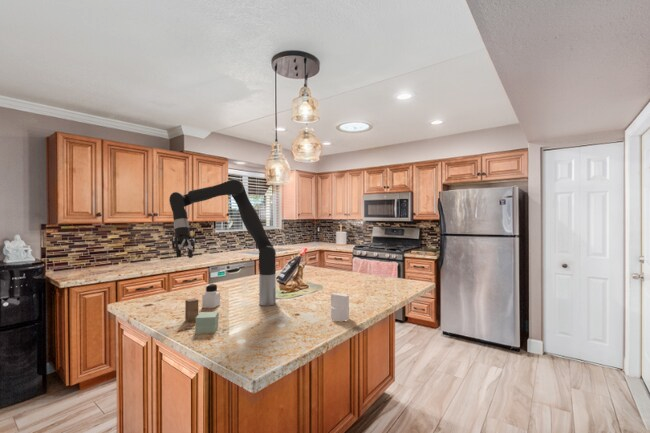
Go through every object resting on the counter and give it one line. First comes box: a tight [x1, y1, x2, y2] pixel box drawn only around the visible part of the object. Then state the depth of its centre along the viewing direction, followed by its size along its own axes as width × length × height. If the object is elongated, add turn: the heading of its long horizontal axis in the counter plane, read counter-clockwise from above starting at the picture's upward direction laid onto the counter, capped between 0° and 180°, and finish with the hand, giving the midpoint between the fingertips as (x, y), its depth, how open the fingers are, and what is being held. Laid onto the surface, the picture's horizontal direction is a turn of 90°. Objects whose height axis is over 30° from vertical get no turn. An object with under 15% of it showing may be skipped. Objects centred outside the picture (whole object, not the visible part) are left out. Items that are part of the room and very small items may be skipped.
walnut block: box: [184, 297, 199, 324], centre depth 151 cm, size 4×4×10 cm
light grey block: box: [330, 292, 350, 322], centre depth 153 cm, size 9×9×12 cm
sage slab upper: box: [195, 311, 220, 326], centre depth 138 cm, size 8×8×4 cm
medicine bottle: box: [201, 283, 221, 309], centre depth 175 cm, size 7×7×12 cm
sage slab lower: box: [194, 320, 219, 335], centre depth 138 cm, size 8×8×4 cm
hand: (185, 257), depth 166 cm, fingers open, 8 cm apart
